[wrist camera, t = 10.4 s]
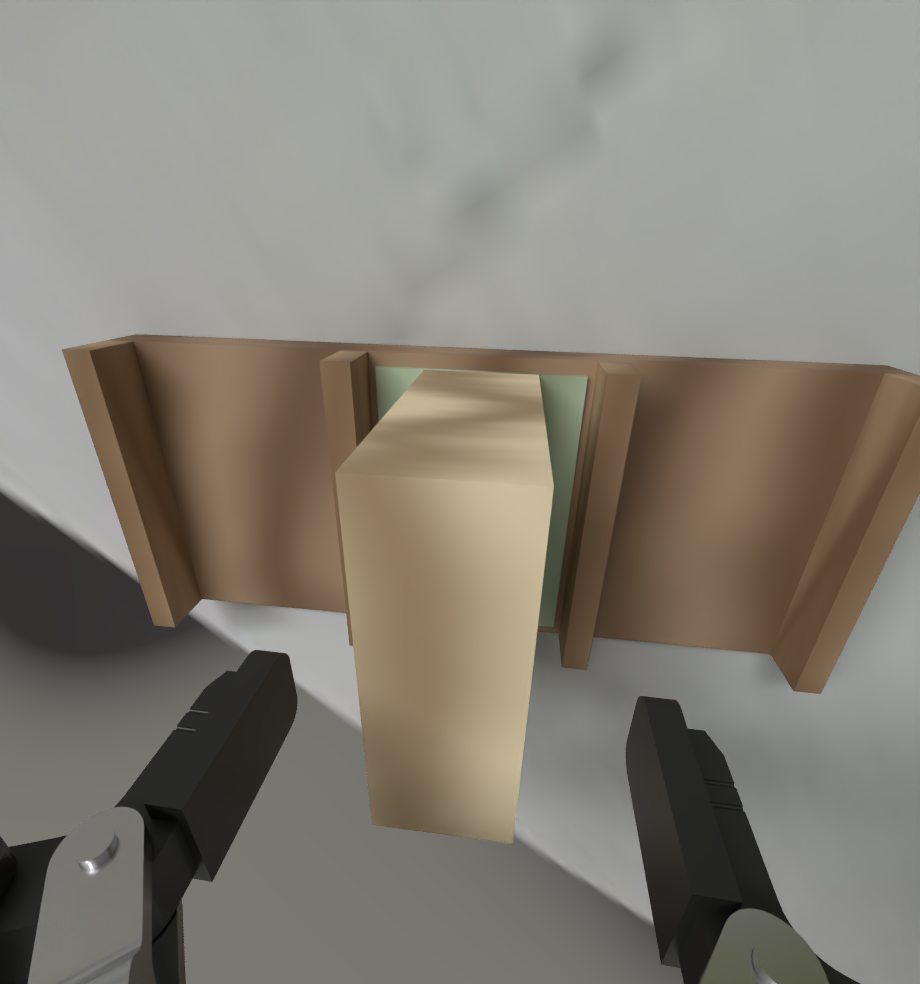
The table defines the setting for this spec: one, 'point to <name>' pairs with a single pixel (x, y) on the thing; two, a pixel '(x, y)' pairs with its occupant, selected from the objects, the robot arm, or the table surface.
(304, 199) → the table surface
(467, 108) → the table surface
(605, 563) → the notched rack
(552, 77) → the table surface
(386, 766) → the tall beige wooden block
